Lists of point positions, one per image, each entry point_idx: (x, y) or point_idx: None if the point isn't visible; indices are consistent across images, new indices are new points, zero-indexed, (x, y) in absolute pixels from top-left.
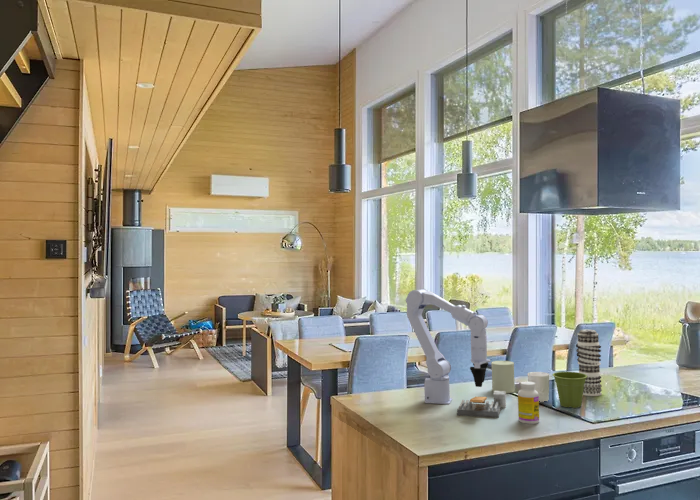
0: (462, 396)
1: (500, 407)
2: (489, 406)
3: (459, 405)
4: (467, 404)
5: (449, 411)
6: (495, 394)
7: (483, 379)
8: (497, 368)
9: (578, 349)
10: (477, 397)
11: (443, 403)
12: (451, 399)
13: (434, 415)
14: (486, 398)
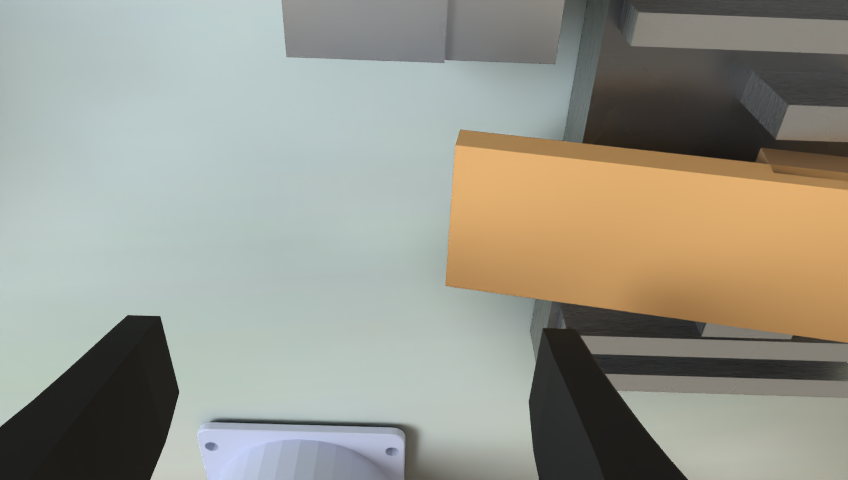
0: (18, 354)
1: None
2: (719, 63)
3: (818, 396)
4: (684, 323)
5: (646, 402)
6: (557, 19)
7: (139, 358)
8: None
9: None
10: (645, 275)
11: (404, 465)
12: (253, 431)
13: (773, 476)
14: (515, 143)
